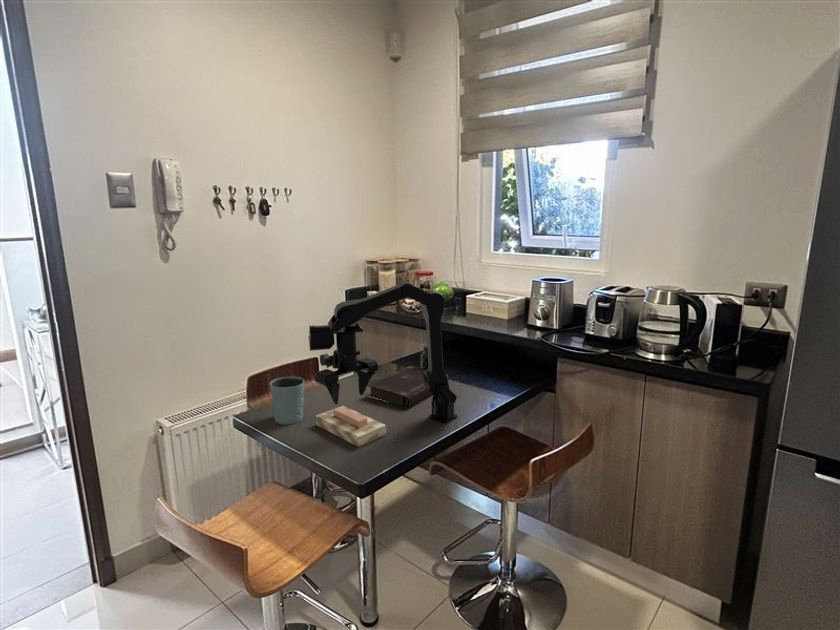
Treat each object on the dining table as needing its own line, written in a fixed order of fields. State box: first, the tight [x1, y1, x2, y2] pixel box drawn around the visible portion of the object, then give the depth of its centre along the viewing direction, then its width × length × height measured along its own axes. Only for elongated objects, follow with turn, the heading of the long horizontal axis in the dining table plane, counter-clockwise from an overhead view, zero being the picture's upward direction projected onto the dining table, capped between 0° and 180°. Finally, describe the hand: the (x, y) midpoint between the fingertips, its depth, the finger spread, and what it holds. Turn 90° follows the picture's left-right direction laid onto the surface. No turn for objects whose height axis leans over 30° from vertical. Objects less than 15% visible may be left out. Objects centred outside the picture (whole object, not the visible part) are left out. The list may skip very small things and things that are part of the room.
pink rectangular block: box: [332, 406, 367, 429], centre depth 143 cm, size 12×3×5 cm, turn 46°
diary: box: [367, 365, 450, 409], centre depth 173 cm, size 19×25×5 cm
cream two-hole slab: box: [315, 405, 387, 448], centre depth 144 cm, size 20×10×3 cm, turn 46°
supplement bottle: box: [420, 344, 428, 369], centre depth 186 cm, size 7×7×12 cm
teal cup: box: [269, 376, 305, 425], centre depth 151 cm, size 10×10×12 cm
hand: (348, 399), depth 142 cm, fingers open, 9 cm apart
